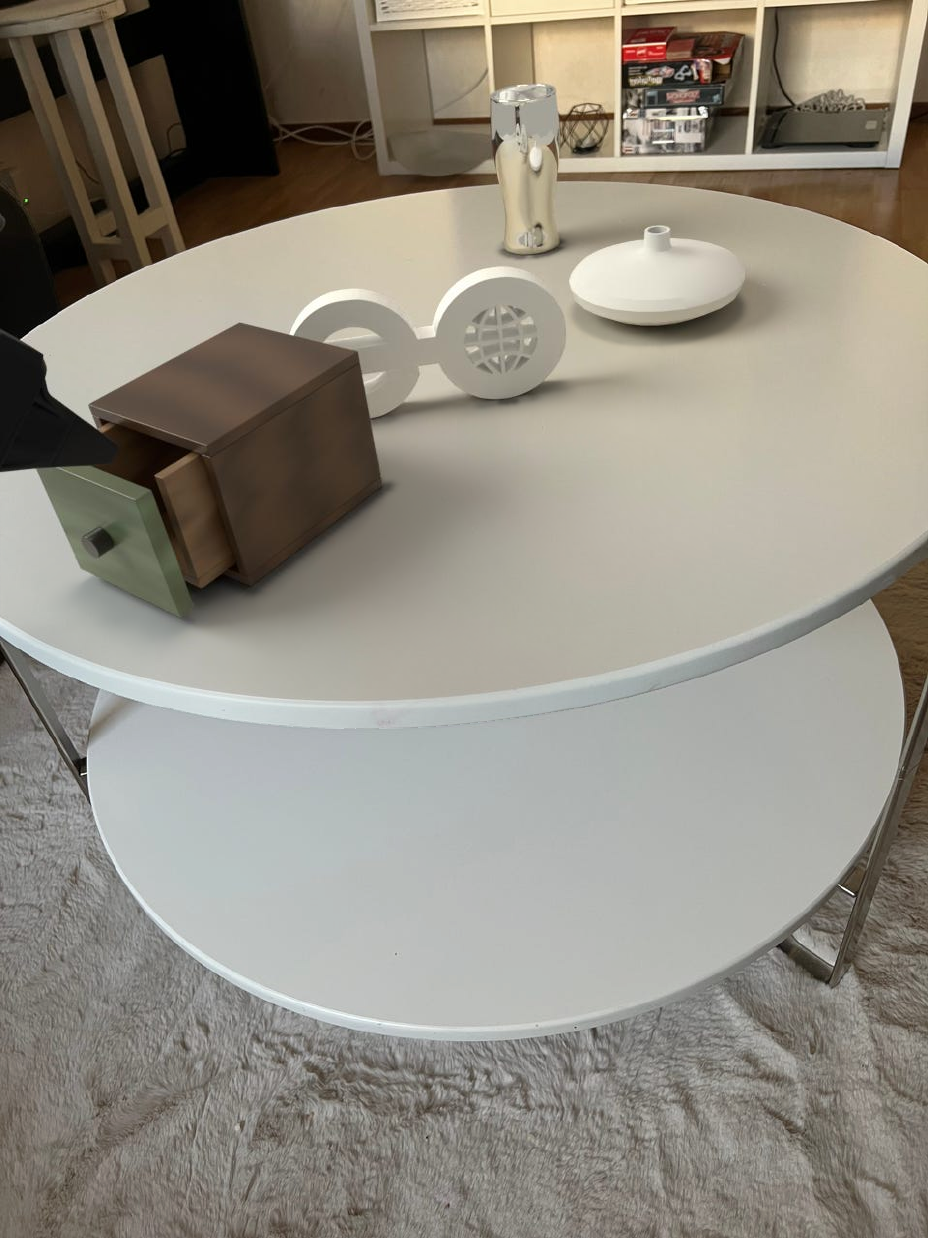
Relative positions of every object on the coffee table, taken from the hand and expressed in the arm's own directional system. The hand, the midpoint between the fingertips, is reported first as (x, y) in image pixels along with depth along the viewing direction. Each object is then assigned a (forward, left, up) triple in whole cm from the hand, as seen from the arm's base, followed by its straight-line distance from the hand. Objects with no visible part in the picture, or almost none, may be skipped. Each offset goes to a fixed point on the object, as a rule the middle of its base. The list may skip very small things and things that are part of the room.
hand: (76, 427), depth 52 cm
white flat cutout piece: (+29, +13, -15) cm, 35 cm away
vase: (+54, +14, -15) cm, 57 cm away
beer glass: (+56, +36, -15) cm, 68 cm away
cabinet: (+11, +8, -14) cm, 20 cm away
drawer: (+5, +6, -13) cm, 15 cm away
